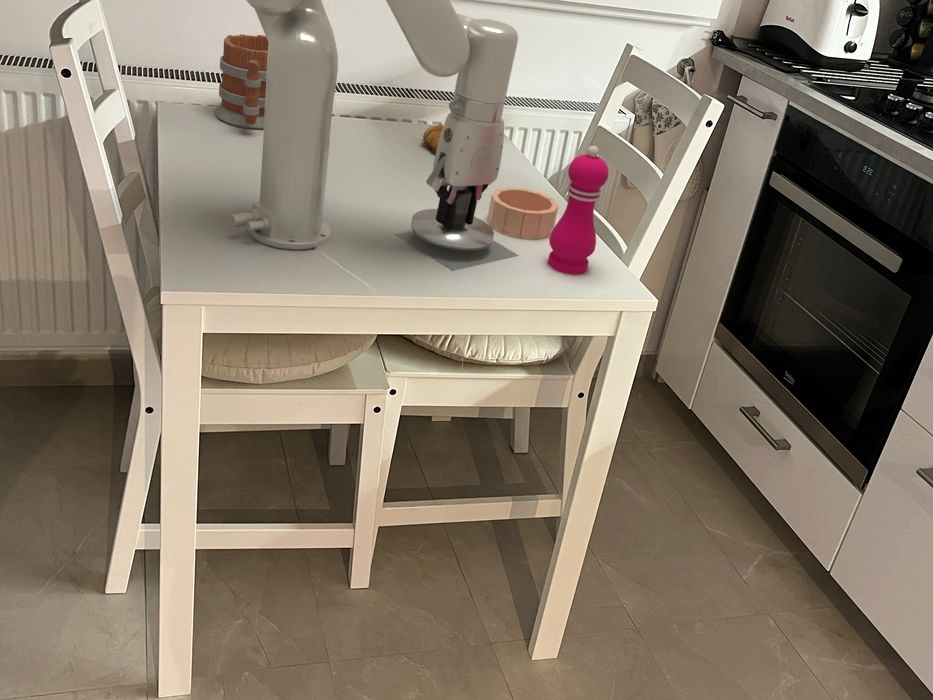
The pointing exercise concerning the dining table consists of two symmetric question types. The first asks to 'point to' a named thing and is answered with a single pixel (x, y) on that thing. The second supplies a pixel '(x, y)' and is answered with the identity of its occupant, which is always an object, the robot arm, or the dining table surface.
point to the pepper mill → (578, 215)
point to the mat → (458, 253)
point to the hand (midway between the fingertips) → (454, 221)
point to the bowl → (522, 213)
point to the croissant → (433, 137)
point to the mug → (243, 81)
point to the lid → (454, 227)
